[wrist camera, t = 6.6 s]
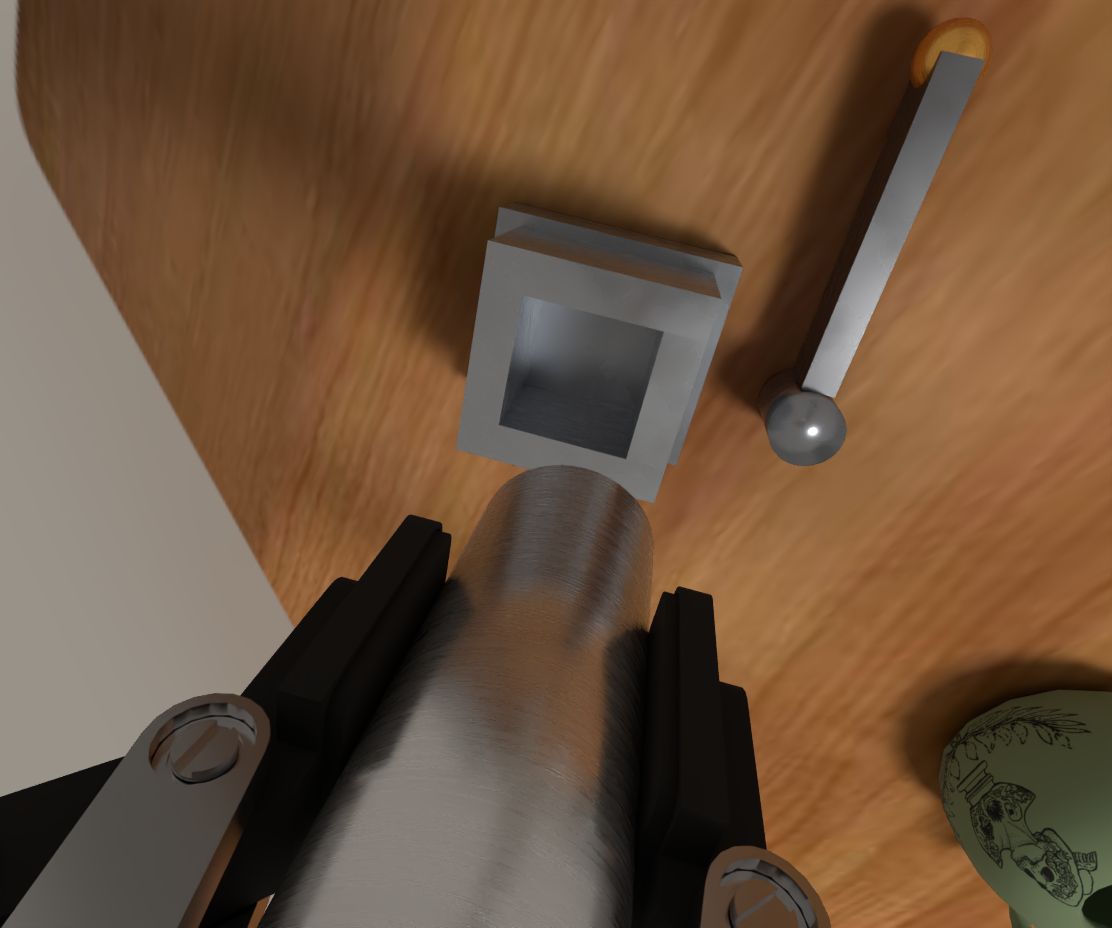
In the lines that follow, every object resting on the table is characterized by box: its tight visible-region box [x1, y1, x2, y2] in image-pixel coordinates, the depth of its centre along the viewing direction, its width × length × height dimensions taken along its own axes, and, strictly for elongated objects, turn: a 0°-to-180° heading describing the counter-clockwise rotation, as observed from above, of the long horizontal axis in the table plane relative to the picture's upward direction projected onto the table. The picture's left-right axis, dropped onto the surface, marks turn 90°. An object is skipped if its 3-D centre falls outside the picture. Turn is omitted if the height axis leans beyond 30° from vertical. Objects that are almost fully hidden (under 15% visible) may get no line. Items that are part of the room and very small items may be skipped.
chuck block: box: [456, 202, 743, 503], centre depth 26 cm, size 9×10×8 cm
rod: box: [256, 465, 654, 928], centre depth 8 cm, size 4×4×11 cm
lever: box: [758, 17, 993, 466], centre depth 25 cm, size 16×3×4 cm, turn 168°
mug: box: [938, 690, 1112, 928], centre depth 33 cm, size 16×13×9 cm
